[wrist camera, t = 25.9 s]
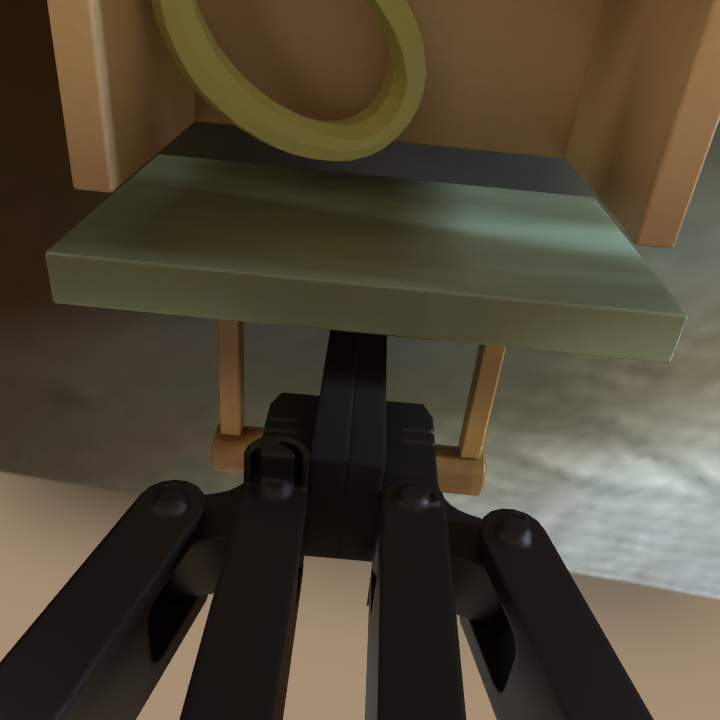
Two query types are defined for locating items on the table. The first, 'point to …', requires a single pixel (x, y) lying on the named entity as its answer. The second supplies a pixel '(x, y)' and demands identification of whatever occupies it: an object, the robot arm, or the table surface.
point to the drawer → (395, 182)
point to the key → (277, 123)
